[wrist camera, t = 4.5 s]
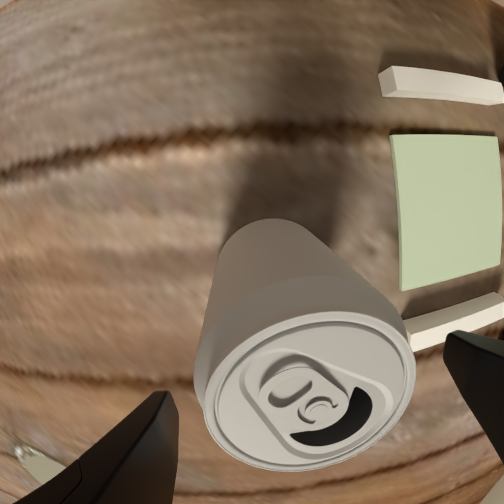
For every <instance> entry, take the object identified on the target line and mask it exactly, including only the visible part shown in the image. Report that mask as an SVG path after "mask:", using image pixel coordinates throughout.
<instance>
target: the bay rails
mask: <svg viewBox="0 0 504 504" xmlns="http://www.w3.org/2000/svg"><path fill="white" fill-rule="evenodd" d="M378 78H379V82H380V87H381V92H382V97H408V98H426V99H439V100H450V101H460V102H468V103H476V104H483V105H494V104H500V103H504V92H503V88H502V83H500V82H495V81H491V80H487V79H482V78H478V77H473V76H467V75H462V74H456V73H450V72H444V71H437V70H429V69H421V68H412V67H401V66H391V67H389V68H388V69H386V70H384V71H383V72H381V73H380V74H378ZM502 318H504V297H502V296H500V295H499V294H497V293H495V292H491V293H489V294H486V295H483V296H480V297H477V298H474V299H471V300H468V301H466V302H462V303H459V304H456V305H453V306H450V307H447V308H444V309H441V310H437V311H434V312H431V313H427V314H424V315H420V316H417V317H413V318H410V319H406V320H403V323H404V326H405V329H406V332H407V337H408V343H409V345H410V347H411V349H412V351H413V352H415V351H418V350H421V349H424V348H427V347H430V346H433V345H436V344H439V343H442V342H444V341H445V340H446V336H447V334H448V333H450V332H453V331H455V330H462V331H466V332H471V331H473V330H476V329H478V328H481V327H483V326H486V325H488V324H490V323H493V322H495V321H497V320H499V319H502Z"/></svg>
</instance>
